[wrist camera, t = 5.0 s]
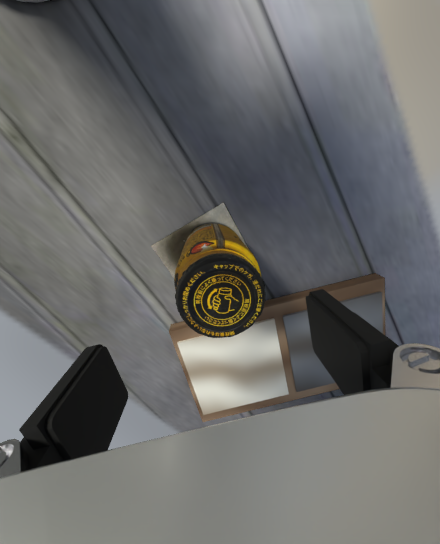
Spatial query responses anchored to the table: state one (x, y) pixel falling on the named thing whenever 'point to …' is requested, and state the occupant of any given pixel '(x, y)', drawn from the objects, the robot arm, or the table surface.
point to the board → (269, 352)
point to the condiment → (213, 275)
